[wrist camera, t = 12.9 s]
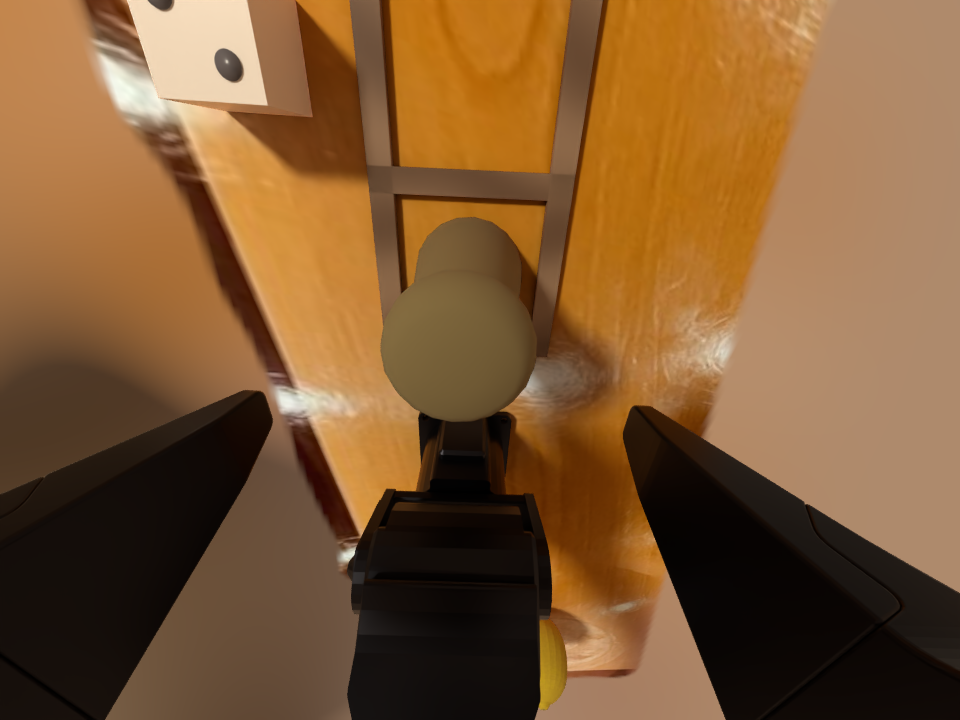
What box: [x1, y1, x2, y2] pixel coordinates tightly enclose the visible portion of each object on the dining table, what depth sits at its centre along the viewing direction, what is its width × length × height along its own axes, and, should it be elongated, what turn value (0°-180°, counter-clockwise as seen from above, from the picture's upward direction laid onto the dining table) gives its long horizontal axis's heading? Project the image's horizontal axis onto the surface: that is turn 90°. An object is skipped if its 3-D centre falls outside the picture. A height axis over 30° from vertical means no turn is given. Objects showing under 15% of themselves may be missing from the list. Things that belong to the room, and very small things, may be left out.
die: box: [127, 0, 313, 117], centre depth 14 cm, size 4×4×4 cm
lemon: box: [539, 619, 567, 710], centre depth 35 cm, size 6×6×8 cm
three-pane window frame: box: [350, 0, 603, 357], centre depth 15 cm, size 28×10×1 cm, turn 178°
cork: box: [381, 217, 537, 422], centre depth 15 cm, size 6×6×11 cm
